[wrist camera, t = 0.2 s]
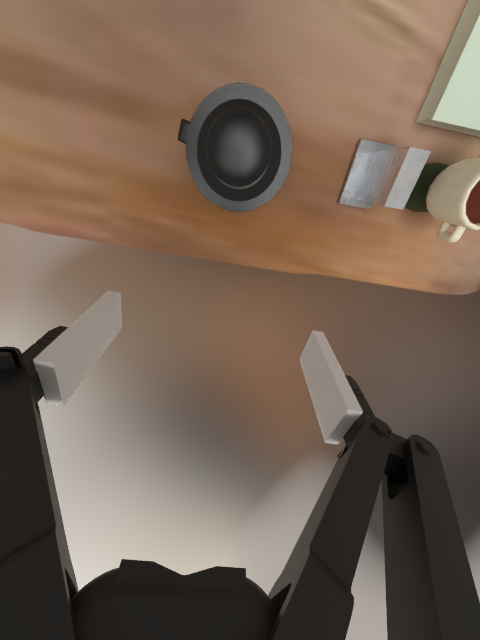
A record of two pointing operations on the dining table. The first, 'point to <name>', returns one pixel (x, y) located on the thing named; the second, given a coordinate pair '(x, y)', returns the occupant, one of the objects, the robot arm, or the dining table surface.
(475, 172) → the character mug
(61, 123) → the dining table surface
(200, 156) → the french press
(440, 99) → the stand
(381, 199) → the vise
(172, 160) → the dining table surface
